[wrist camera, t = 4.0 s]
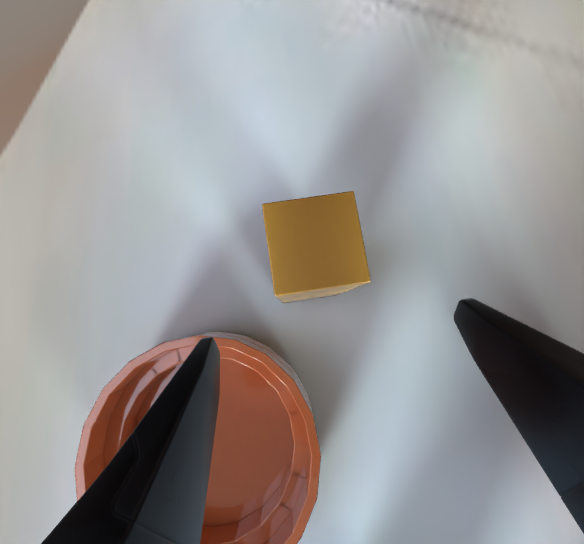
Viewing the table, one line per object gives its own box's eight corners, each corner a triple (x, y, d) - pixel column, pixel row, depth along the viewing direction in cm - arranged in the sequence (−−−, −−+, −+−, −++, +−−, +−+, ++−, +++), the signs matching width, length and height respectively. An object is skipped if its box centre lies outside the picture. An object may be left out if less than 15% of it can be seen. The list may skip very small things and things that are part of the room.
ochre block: (327, 242, 23) (354, 190, 13) (336, 295, 22) (371, 282, 12) (275, 250, 23) (261, 203, 13) (282, 303, 22) (274, 296, 12)
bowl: (324, 343, 22) (330, 351, 18) (303, 558, 20) (305, 620, 16) (138, 321, 22) (104, 323, 18) (97, 530, 20) (48, 584, 16)
